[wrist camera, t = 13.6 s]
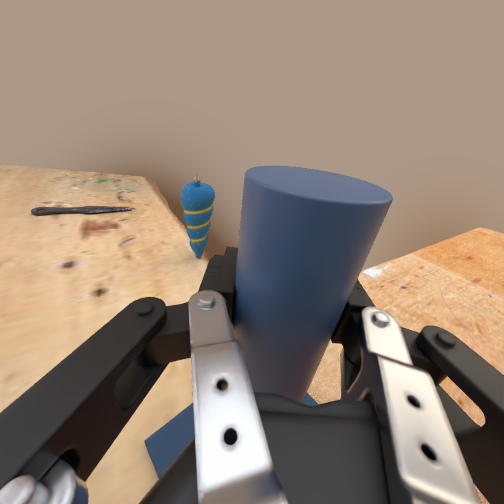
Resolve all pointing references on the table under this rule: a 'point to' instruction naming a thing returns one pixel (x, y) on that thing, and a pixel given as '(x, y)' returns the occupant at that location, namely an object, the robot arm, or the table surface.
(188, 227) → the ornament
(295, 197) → the blue cylinder
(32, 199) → the table surface
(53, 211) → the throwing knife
